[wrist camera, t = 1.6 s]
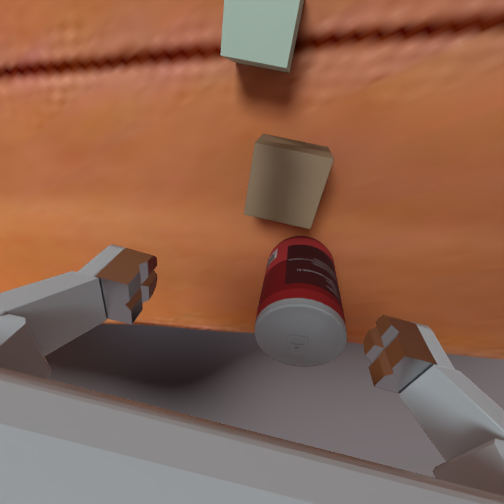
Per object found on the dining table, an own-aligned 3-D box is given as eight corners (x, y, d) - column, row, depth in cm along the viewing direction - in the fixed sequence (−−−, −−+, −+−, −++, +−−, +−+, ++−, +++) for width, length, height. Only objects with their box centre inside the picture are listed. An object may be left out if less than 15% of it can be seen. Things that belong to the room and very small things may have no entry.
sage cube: (305, -5, 17) (306, -33, 14) (289, 73, 20) (286, 68, 16) (243, -16, 17) (227, -46, 14) (235, 62, 20) (220, 55, 16)
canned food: (277, 291, 32) (267, 368, 23) (260, 240, 29) (240, 308, 19) (337, 284, 30) (353, 367, 21) (327, 227, 26) (341, 298, 17)
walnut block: (327, 146, 22) (334, 158, 18) (308, 207, 26) (310, 229, 21) (263, 133, 22) (254, 142, 18) (253, 195, 26) (244, 214, 22)
